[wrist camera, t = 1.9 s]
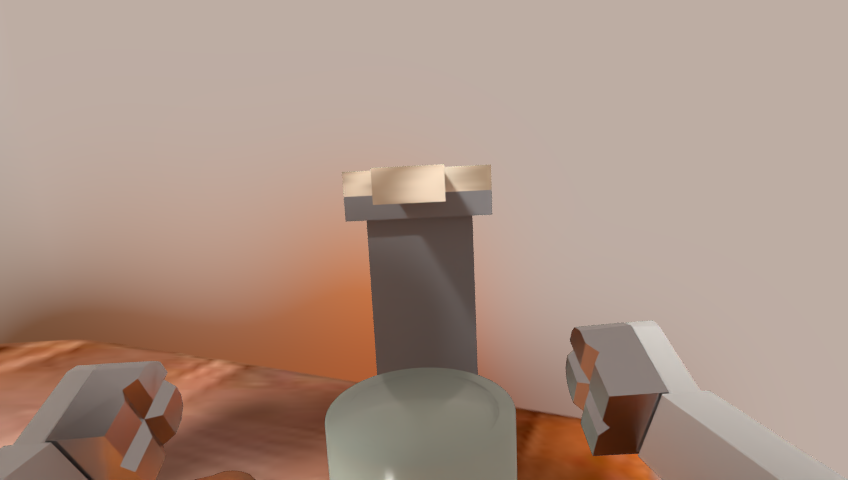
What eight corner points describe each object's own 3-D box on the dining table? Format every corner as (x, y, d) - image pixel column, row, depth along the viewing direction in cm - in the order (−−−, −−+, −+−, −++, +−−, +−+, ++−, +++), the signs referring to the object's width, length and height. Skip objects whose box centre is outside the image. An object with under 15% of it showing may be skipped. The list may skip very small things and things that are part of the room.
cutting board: (300, 208, 25) (297, 171, 25) (365, 191, 49) (364, 172, 48) (519, 197, 25) (518, 160, 24) (477, 185, 48) (476, 166, 48)
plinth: (368, 526, 41) (343, 196, 37) (383, 447, 53) (365, 191, 49) (500, 522, 41) (491, 189, 36) (485, 443, 53) (477, 185, 48)
